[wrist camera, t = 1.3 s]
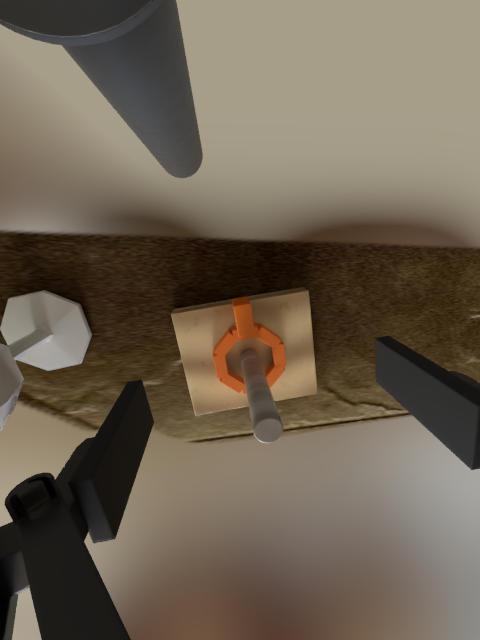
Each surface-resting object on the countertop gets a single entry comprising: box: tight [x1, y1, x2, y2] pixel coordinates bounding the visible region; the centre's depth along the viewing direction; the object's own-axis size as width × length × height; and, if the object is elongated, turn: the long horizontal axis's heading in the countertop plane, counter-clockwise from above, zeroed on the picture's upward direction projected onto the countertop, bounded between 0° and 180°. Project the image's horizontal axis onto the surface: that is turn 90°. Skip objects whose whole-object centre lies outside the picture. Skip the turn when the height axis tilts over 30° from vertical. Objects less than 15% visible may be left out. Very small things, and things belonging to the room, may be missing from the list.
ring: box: [213, 296, 286, 394], centre depth 29 cm, size 10×7×3 cm
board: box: [171, 287, 317, 443], centre depth 26 cm, size 12×14×14 cm
